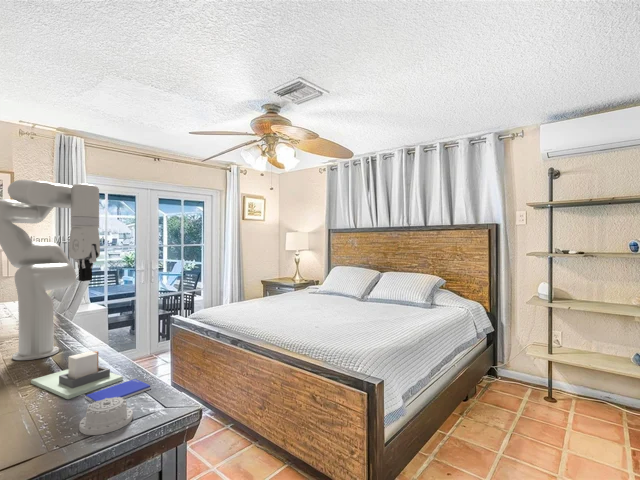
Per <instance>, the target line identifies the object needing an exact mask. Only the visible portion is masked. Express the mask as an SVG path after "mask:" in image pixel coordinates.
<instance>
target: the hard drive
mask: <svg viewBox="0 0 640 480" xmlns="http://www.w3.org/2000/svg"><path fill="white" fill-rule="evenodd" d="M148 390H151V384H148V383H146V382H143V381H141V380H139V379H137V378H134V379H130V380H127V381H124V382H122V383H118V384H116V385H115V384H114V385H112V386H109V387H107V388H103V389H101V390H98V391H95V392H92V393H88V394H86V395H85V399H86V400H88V401H89V402H91V404H92V403H94V402H96V401H100V400H104V399H105V398H114V397H117V398H118V397H121V398H123V399H124V400H125V399H126V398H130V397H133V396H135V395H138V394H140V393H143V392H147V391H148Z"/></svg>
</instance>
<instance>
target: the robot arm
mask: <svg viewBox="0 0 640 480" xmlns="http://www.w3.org/2000/svg"><path fill="white" fill-rule="evenodd" d="M7 193H8V196H9V197H10V198H11V199H5V198H4V199H3V198H2V199H1V198H0V247H1V249H2V251H3V252H4V254H5V257H6V258H7V259H8V261H9V263H10V264H11V265H12V266H13V267H14V268H16V269H17V270H16V271H15V273H14V284H15V285H14V286H15V289H16V292H17V302H18V303H17V304H18V307H17V308H18V351H17V352H14V353H13V354H12V360H14V361H31V360H39V359H42V358H46V357H50V356H53V355H56V354H57V353H58V352H59V351H60V348H59V347H58V346H56V345H55V344H54V341H55V339H54V336H55V335H54V334H55V333H54V328H55V327H54V324H55V323H54V320H55V319H54V314H55V313H54V312H55V311H54V310H55V309H54V300H53V299H52V298H51V296H50V295H49V294H48V293H47V291H50V290H60V289H61V290H62V289H66V288H70V287H72V286H74V284H75V282H76V280H77V274H76V273H77V272H76V269H75V267H74V266H73V264H72V262H71V261H70V259H74V262H76V264H77V268H78V281H79V282H88V281H92V280H93V267H94V264H95V263H96V262H97V259H98V258H99V257H100V255H101V254H100V253H101V240H100V231H99V229H100V189H99V187H98V186H96V185H93V184H88V183H76V184H72V185H70V184H61V183H56V182H55V183H54V182H48V181H43V180H32V179H19V180H15V181H13V182H11V183H10V184H9V185H8V187H7ZM54 208H62V209H70V228H71V229H70V234H69V241H68V242H69V243H68V256H67V254H66V253H65V251H64V250H63V248H62V247H61V246H60V245H58V244H57V243H55V242H52V241H51V242H50V241H49V242H47V241H46V242H45V241H41V242H39V241H34V240H32V239H31V237H30V235H29V234H28V232H26V230H25V229H23V228H22V227H20V226H19V225H16V224H30V225H31V224H39V223H42V222H43V221H44V220H45V219H46V217H48V215H49V214H50V212H51V211H53V209H54ZM54 345H55V346H54Z"/></svg>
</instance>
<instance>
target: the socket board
mask: <svg viewBox="0 0 640 480" xmlns="http://www.w3.org/2000/svg"><path fill="white" fill-rule="evenodd" d="M123 380H124V377H123V375H120V374H117V373H115V372H114V373H113V372H111V369H110V368H107V367H104V366H102V365H98V372H96V373H93V374H90V375H86V376H83V377H80V378H77V379H72V378H70V377H68V368H67V369H64V370H60V371H57V372H53V373H50V374H46V375H43V376H40V377H36V378H33V379H30V382H31V383H30V384H32V385H34V386H36V387H38V388H40V389H43V390H44V391H48V392H50V393H52V394H54V395H57V396H59V397H60V398H63V399H66V400H70V399H73V398H76V397H79V396H81V395H84V394H86V393H90V392H92V391H95V390H99V389H102V388H105V387H107V386H109V385H113V384H115V383H118V382H121V381H123Z"/></svg>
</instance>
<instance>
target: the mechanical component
mask: <svg viewBox="0 0 640 480" xmlns="http://www.w3.org/2000/svg"><path fill="white" fill-rule="evenodd" d="M133 412H134V411H133V409H131V408H130V407H128V406H127V399H125V398H124V399H123V398H121V397H118V398H117V397H114V398H105V399H104V400H100V401H96V402H94V403H92V402H91V404H89V405H88V407H87V408H86V412H85V413H86V414H85V416H84V417H82V419H81V420H80V421H79V432H80V433H81V434H83V435H87V436H98V435H105V434H108V433H112V432H114V431H117V430H120V429H122V428H124V427H126V426H127V425H128V424H130V423H131V421H132V420H133V419H134V413H133Z"/></svg>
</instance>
